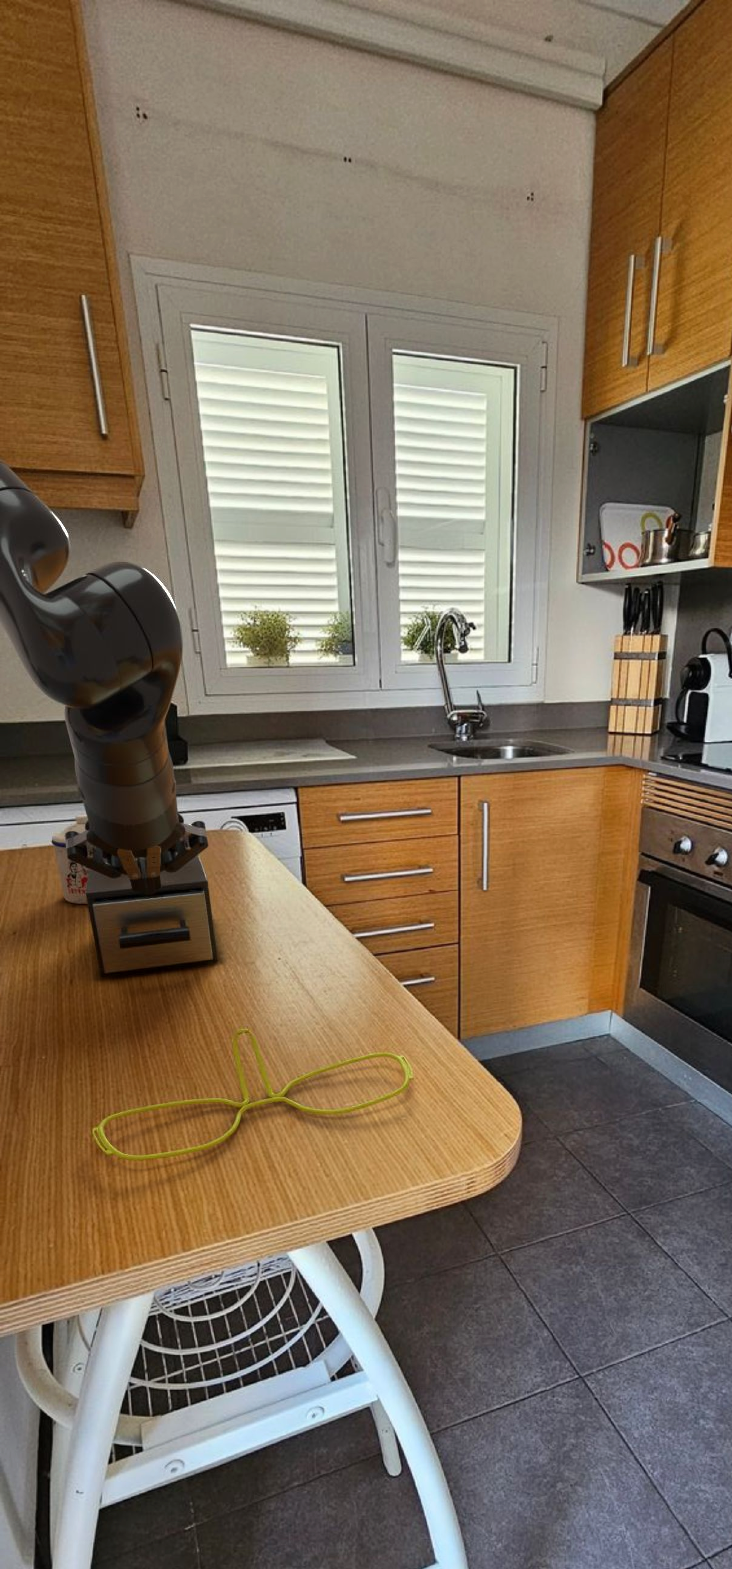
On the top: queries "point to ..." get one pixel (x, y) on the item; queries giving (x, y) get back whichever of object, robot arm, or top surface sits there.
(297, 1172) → the top surface
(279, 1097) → the glasses
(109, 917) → the silver drawer with handle
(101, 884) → the metal drawer cabinet
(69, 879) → the teacup with lid
